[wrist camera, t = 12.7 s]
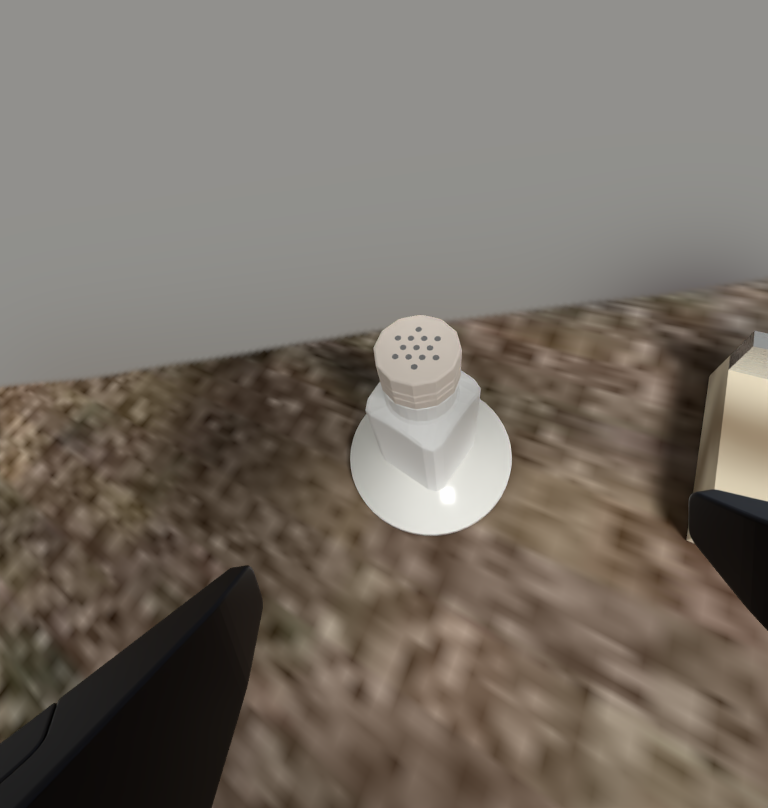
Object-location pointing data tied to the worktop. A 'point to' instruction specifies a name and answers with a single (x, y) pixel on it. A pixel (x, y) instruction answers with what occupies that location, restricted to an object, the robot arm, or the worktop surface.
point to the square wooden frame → (736, 424)
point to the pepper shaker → (423, 400)
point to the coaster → (426, 509)
